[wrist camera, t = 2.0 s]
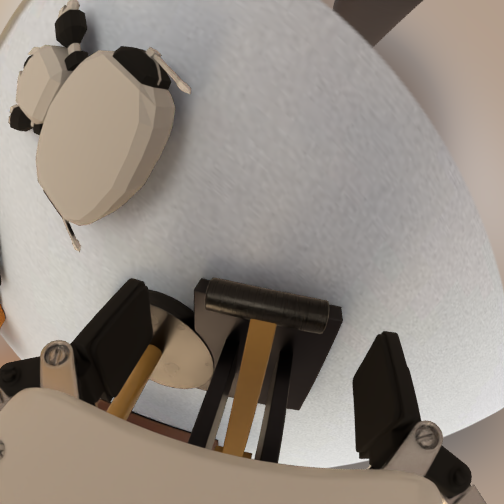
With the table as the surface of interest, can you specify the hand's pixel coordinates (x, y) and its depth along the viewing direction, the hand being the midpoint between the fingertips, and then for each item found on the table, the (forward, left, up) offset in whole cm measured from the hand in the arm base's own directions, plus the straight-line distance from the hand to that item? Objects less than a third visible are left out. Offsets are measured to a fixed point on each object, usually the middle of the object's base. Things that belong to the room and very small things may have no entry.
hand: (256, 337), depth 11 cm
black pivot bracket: (+9, +3, -8) cm, 12 cm away
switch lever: (+5, +2, 0) cm, 5 cm away
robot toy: (-4, -15, -8) cm, 18 cm away
